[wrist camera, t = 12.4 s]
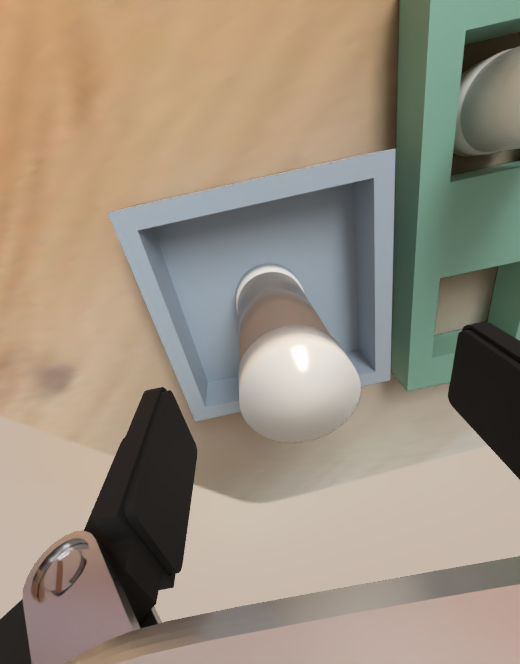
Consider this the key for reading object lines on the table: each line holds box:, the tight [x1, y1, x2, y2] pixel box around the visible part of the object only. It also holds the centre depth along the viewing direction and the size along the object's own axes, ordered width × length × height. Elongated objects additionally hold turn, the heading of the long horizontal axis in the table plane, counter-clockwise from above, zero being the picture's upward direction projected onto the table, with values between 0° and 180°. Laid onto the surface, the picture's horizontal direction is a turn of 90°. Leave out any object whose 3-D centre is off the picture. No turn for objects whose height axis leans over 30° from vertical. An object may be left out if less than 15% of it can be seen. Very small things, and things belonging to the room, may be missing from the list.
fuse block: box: [391, 0, 520, 391], centre depth 17 cm, size 22×9×2 cm, turn 11°
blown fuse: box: [236, 263, 361, 443], centre depth 14 cm, size 4×4×10 cm
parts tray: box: [108, 148, 396, 422], centre depth 18 cm, size 13×13×4 cm
